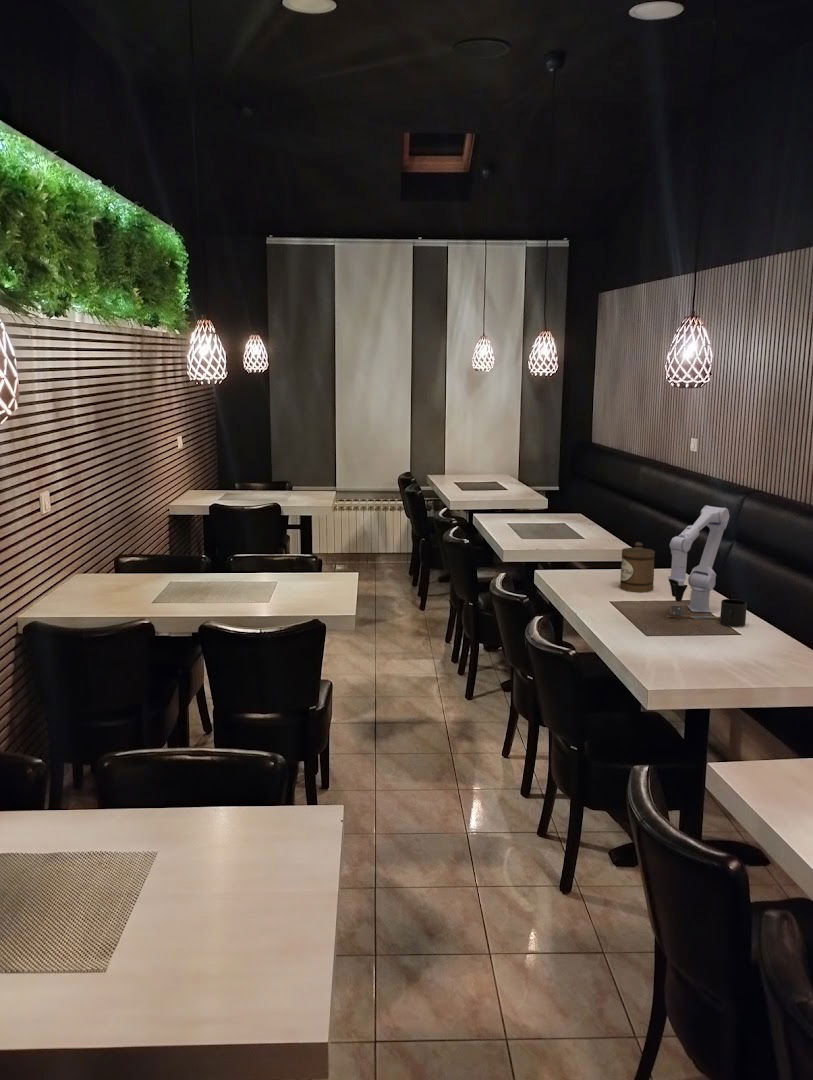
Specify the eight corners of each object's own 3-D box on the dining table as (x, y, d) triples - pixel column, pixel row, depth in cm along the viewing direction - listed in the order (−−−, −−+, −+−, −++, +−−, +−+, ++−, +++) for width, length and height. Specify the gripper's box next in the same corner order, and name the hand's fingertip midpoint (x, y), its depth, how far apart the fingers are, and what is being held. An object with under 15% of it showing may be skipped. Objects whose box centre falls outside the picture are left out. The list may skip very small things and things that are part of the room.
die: (669, 614, 356) (670, 604, 356) (679, 614, 355) (680, 604, 355) (671, 615, 352) (671, 605, 351) (681, 615, 351) (681, 605, 351)
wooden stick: (666, 616, 354) (666, 614, 353) (738, 618, 350) (738, 617, 350) (667, 617, 351) (667, 616, 351) (739, 620, 348) (739, 618, 348)
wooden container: (617, 584, 408) (619, 539, 404) (648, 585, 407) (651, 539, 403) (623, 592, 393) (626, 545, 389) (656, 593, 393) (659, 545, 389)
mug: (716, 626, 340) (717, 604, 338) (722, 619, 350) (724, 597, 348) (741, 630, 335) (743, 607, 333) (747, 622, 345) (749, 600, 343)
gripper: (665, 562, 357) (663, 594, 360) (672, 569, 343) (669, 602, 345) (683, 562, 356) (680, 594, 359) (690, 570, 342) (688, 603, 345)
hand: (676, 598), depth 352 cm, fingers open, 7 cm apart
